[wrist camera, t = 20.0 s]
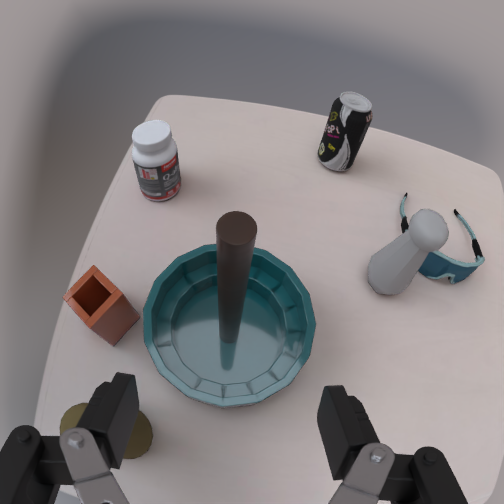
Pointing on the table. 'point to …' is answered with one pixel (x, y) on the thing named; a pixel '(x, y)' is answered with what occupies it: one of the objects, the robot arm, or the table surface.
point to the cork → (137, 440)
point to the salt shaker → (407, 253)
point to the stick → (233, 269)
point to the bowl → (207, 330)
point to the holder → (101, 306)
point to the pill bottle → (156, 160)
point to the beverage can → (345, 131)
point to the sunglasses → (446, 257)
